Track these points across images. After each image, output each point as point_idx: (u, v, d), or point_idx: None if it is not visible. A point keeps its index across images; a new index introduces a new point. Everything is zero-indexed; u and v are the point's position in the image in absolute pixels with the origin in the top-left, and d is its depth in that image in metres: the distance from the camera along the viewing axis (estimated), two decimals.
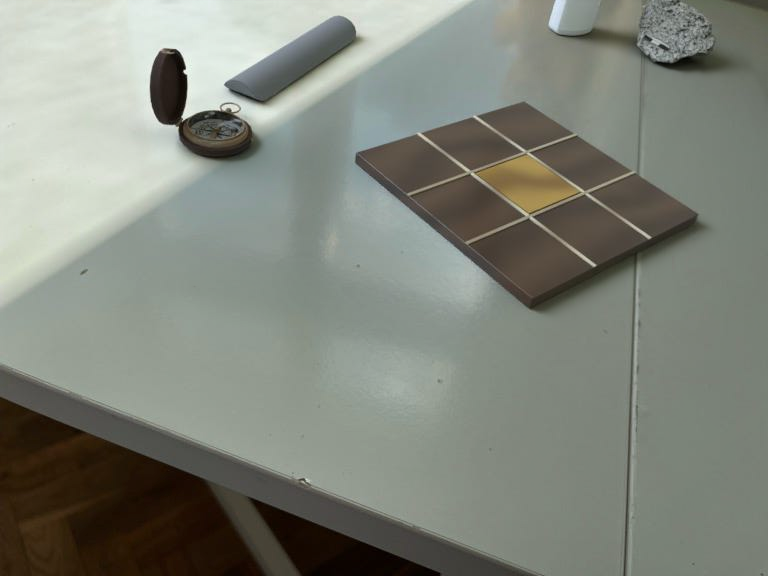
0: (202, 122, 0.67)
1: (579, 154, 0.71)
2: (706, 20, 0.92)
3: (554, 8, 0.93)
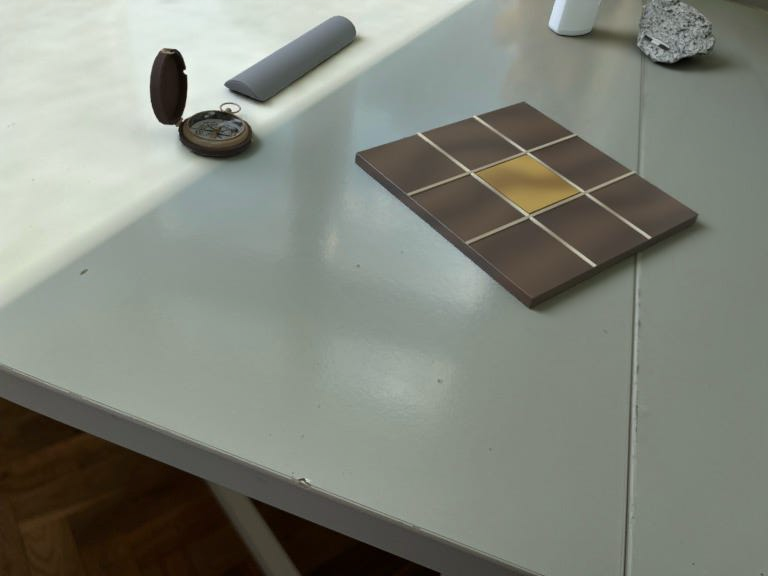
0: (202, 122, 0.67)
1: (579, 154, 0.71)
2: (706, 20, 0.92)
3: (554, 8, 0.93)
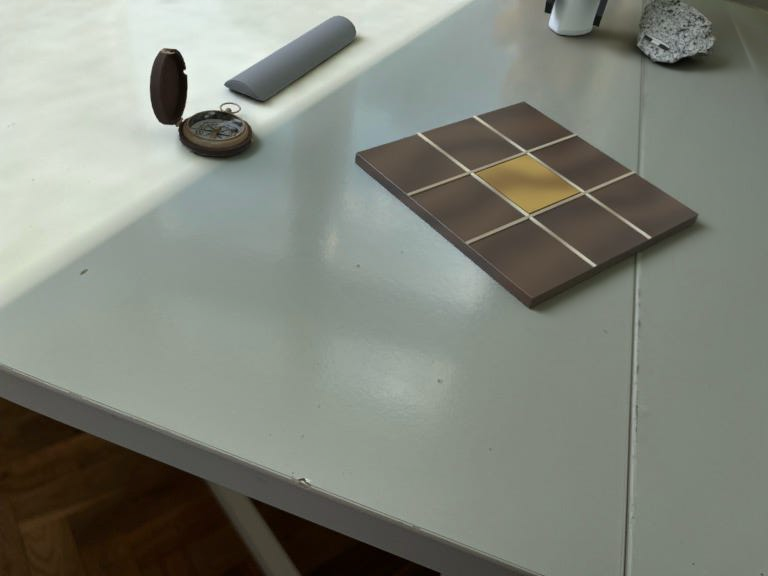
0: (202, 122, 0.67)
1: (579, 154, 0.71)
2: (706, 20, 0.92)
3: (554, 8, 0.93)
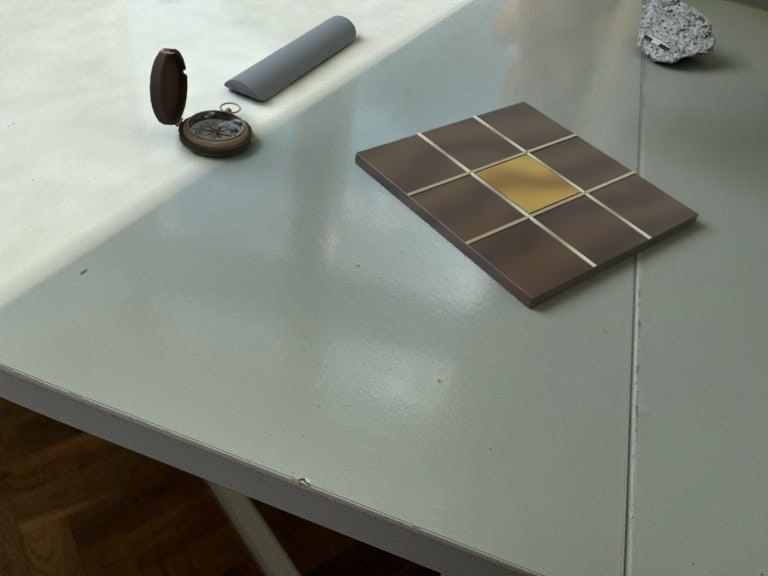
0: (202, 122, 0.67)
1: (579, 154, 0.71)
2: (706, 20, 0.92)
3: None
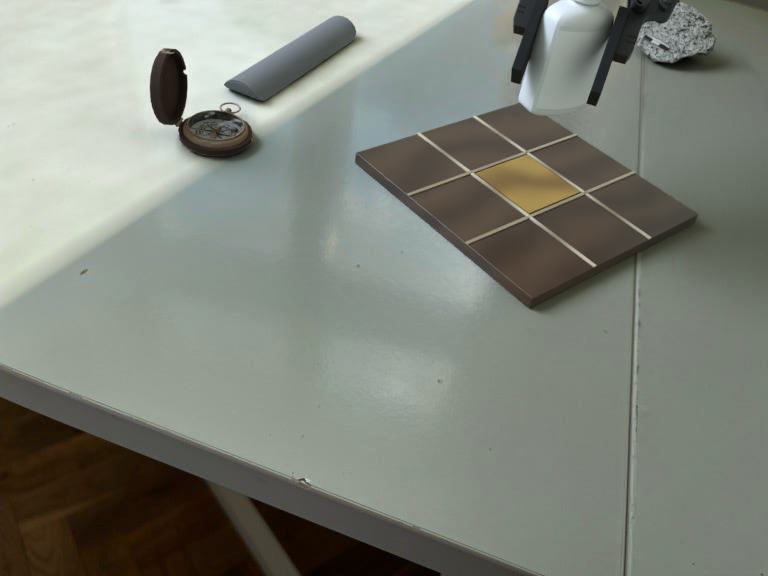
0: (202, 122, 0.67)
1: (579, 154, 0.71)
2: (706, 20, 0.92)
3: (526, 75, 0.59)
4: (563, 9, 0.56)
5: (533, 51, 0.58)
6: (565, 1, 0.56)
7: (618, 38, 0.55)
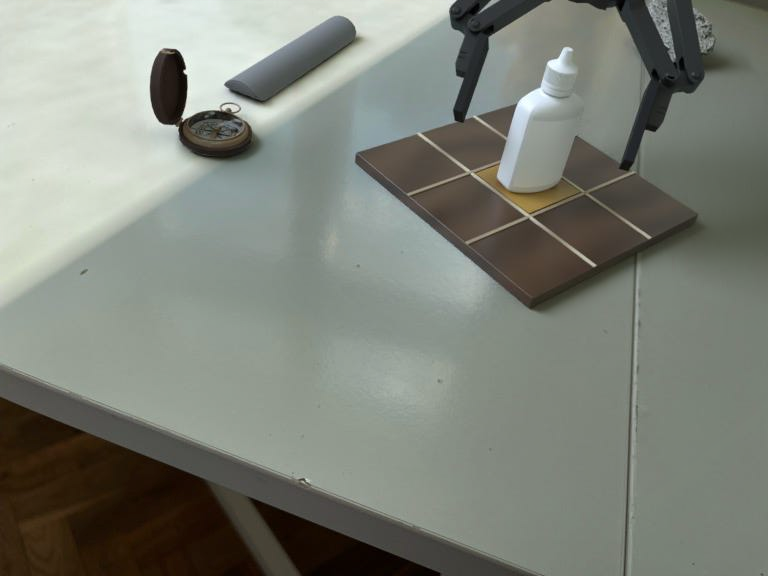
0: (202, 122, 0.67)
1: (579, 154, 0.71)
2: (706, 20, 0.92)
3: (503, 156, 0.64)
4: (536, 100, 0.60)
5: (509, 136, 0.63)
6: (538, 92, 0.61)
7: (649, 110, 0.59)
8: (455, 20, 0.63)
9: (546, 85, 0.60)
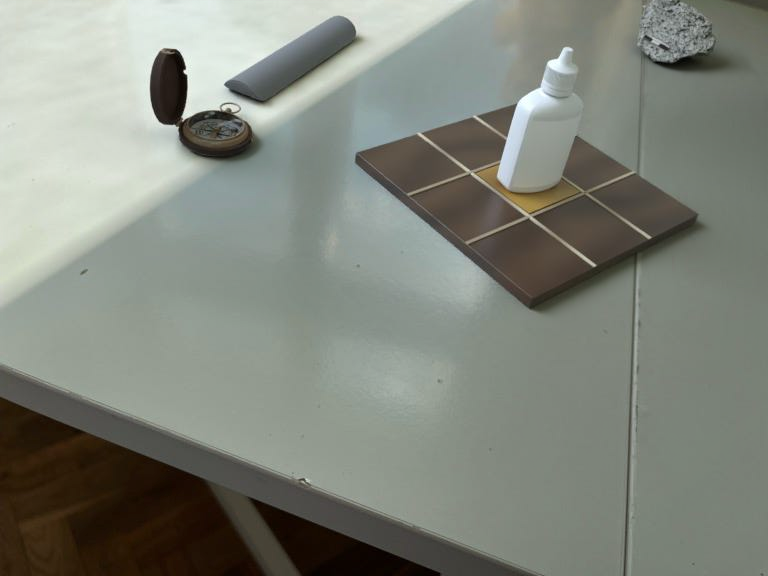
0: (202, 122, 0.67)
1: (579, 154, 0.71)
2: (707, 20, 0.92)
3: (503, 156, 0.64)
4: (536, 100, 0.60)
5: (509, 136, 0.63)
6: (538, 92, 0.61)
7: None
8: None
9: (546, 85, 0.60)
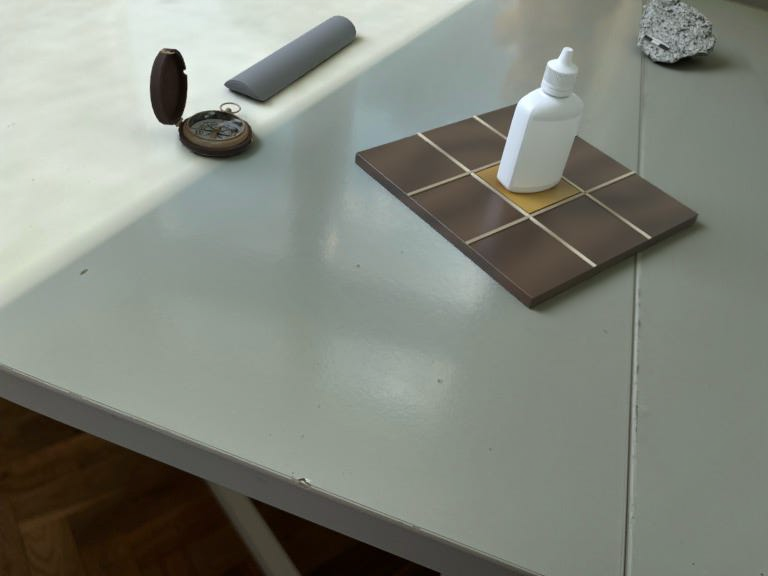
0: (202, 122, 0.67)
1: (579, 154, 0.71)
2: (707, 20, 0.92)
3: (503, 156, 0.64)
4: (536, 100, 0.60)
5: (509, 136, 0.63)
6: (538, 92, 0.61)
7: None
8: None
9: (546, 85, 0.60)
